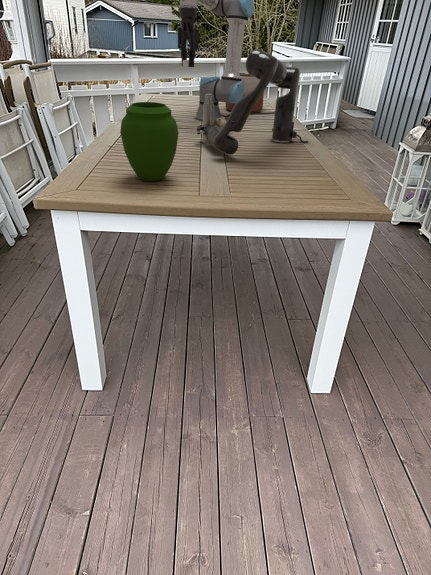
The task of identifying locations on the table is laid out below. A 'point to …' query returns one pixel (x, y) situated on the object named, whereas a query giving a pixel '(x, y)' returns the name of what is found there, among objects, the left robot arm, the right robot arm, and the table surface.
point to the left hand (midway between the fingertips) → (187, 66)
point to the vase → (149, 139)
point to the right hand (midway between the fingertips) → (206, 127)
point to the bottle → (207, 114)
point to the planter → (249, 86)
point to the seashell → (220, 122)
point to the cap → (186, 63)
